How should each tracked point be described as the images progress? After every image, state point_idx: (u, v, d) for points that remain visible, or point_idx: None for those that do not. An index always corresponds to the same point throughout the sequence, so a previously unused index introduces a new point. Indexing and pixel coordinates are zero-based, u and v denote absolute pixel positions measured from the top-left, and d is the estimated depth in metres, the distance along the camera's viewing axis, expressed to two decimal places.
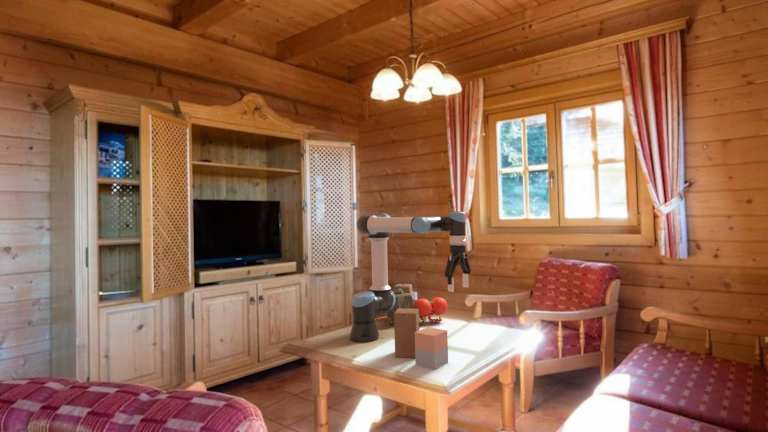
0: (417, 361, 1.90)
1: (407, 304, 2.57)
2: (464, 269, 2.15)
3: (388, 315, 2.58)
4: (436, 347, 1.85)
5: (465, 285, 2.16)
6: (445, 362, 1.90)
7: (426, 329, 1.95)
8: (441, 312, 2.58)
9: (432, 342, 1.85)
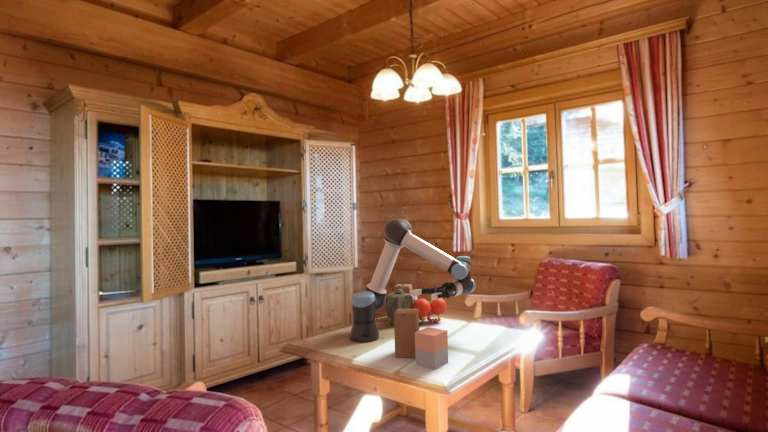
0: (417, 361, 1.90)
1: (407, 304, 2.57)
2: (426, 291, 2.21)
3: (388, 315, 2.58)
4: (436, 347, 1.85)
5: (413, 293, 2.16)
6: (445, 362, 1.90)
7: (426, 329, 1.95)
8: (440, 312, 2.58)
9: (432, 342, 1.85)
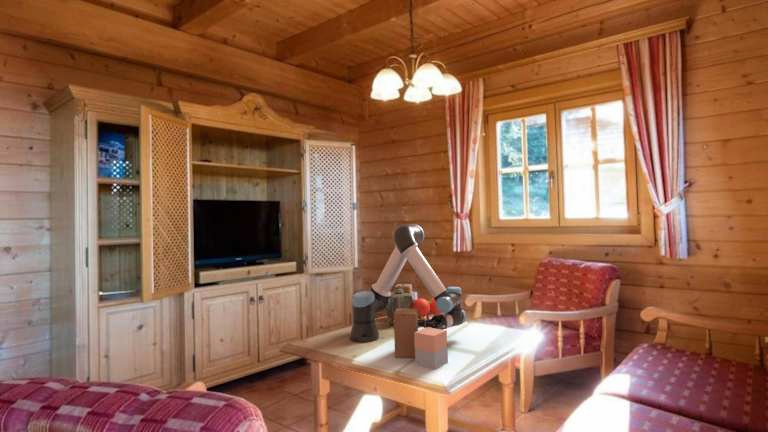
0: (417, 361, 1.90)
1: (407, 304, 2.57)
2: None
3: (388, 315, 2.58)
4: (436, 347, 1.86)
5: None
6: (445, 362, 1.91)
7: (425, 329, 1.95)
8: (439, 312, 2.59)
9: (432, 342, 1.85)
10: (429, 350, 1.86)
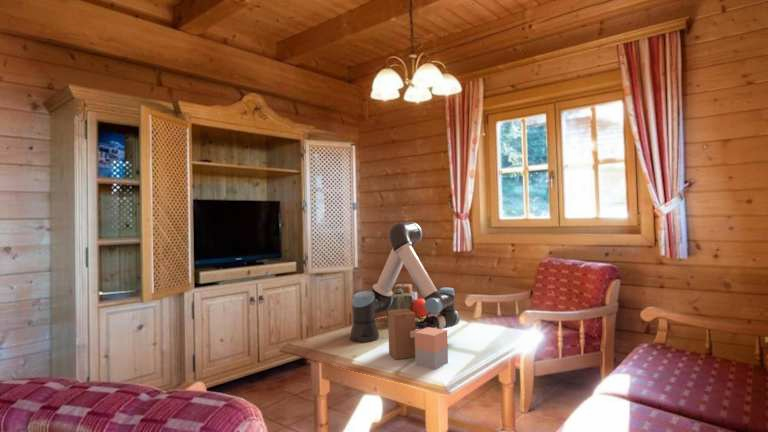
0: (417, 361, 1.90)
1: (407, 304, 2.57)
2: None
3: None
4: (436, 347, 1.86)
5: None
6: (445, 362, 1.91)
7: (426, 329, 1.95)
8: (439, 312, 2.59)
9: (432, 342, 1.85)
10: (429, 350, 1.86)
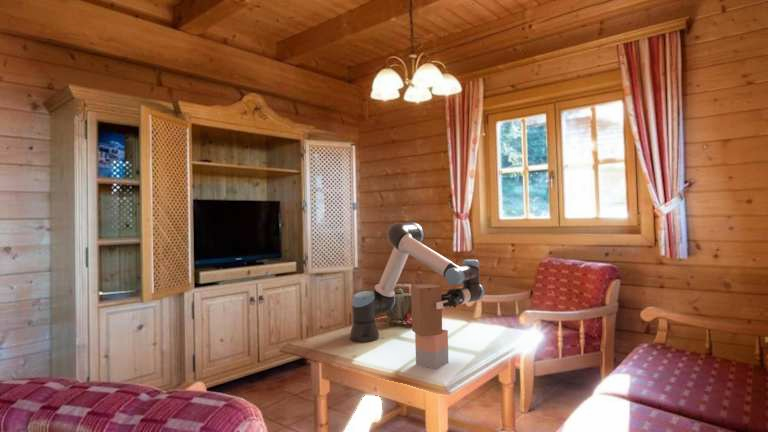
0: (417, 361, 1.90)
1: (407, 304, 2.57)
2: None
3: (388, 315, 2.58)
4: (437, 347, 1.86)
5: None
6: (445, 362, 1.91)
7: None
8: None
9: (433, 342, 1.85)
10: (430, 350, 1.86)
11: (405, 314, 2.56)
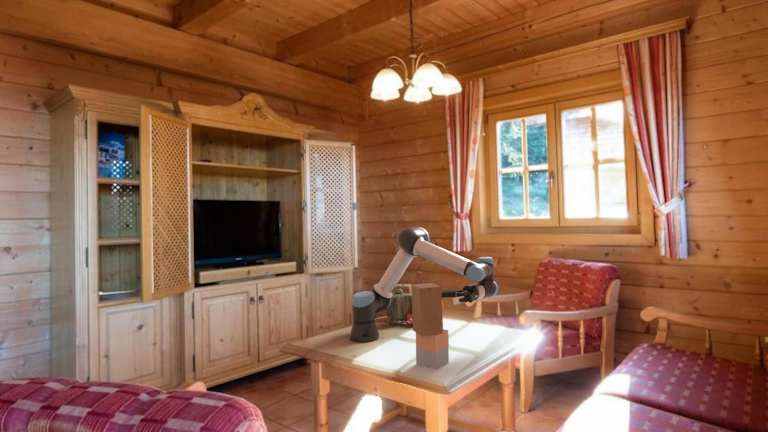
0: (418, 361, 1.91)
1: (407, 304, 2.57)
2: (445, 295, 2.05)
3: (388, 315, 2.58)
4: (437, 346, 1.86)
5: None
6: (446, 362, 1.91)
7: None
8: None
9: (433, 342, 1.85)
10: (430, 350, 1.86)
11: (405, 314, 2.56)
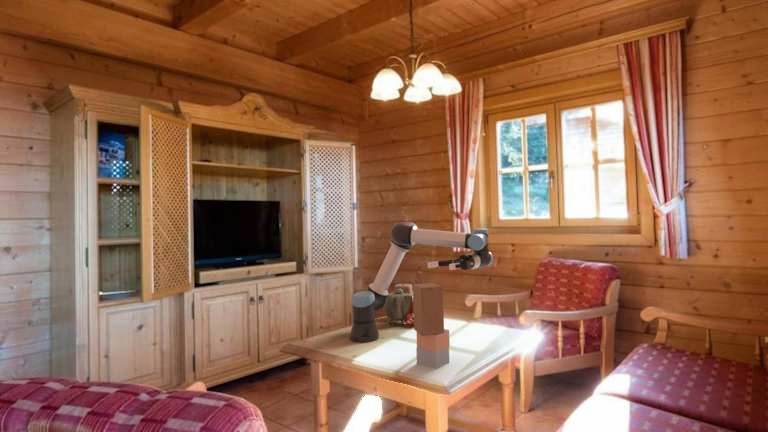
0: (418, 360, 1.91)
1: (407, 304, 2.57)
2: (443, 264, 2.15)
3: (388, 315, 2.58)
4: (438, 346, 1.86)
5: (430, 265, 2.11)
6: (446, 362, 1.91)
7: None
8: None
9: (434, 342, 1.86)
10: (431, 349, 1.87)
11: (405, 314, 2.56)
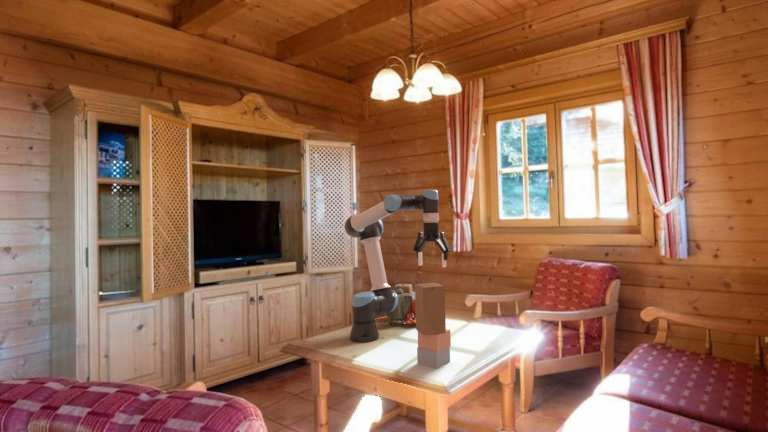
0: (419, 360, 1.91)
1: (407, 304, 2.57)
2: None
3: (388, 315, 2.58)
4: (439, 346, 1.87)
5: None
6: (447, 361, 1.91)
7: None
8: None
9: (435, 341, 1.86)
10: (432, 349, 1.87)
11: (405, 314, 2.56)
